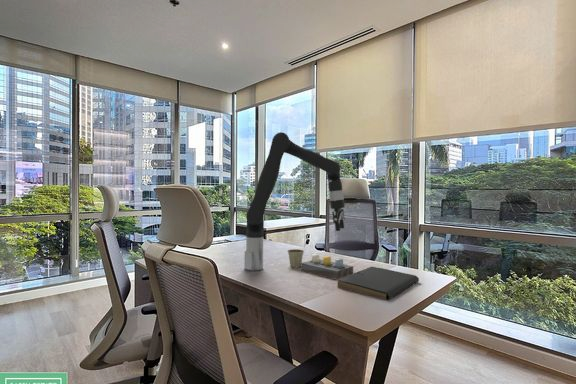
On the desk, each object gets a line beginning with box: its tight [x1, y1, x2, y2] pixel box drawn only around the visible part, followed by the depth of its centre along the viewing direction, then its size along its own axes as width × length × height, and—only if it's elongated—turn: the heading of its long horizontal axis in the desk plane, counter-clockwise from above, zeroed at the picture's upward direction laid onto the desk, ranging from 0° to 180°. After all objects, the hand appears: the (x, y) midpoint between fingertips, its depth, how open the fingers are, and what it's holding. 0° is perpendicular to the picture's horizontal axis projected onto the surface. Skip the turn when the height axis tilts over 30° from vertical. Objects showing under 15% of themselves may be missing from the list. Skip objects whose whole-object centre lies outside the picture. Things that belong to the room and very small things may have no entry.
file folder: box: [337, 266, 420, 301], centre depth 138 cm, size 33×4×24 cm
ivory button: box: [311, 253, 320, 264], centre depth 162 cm, size 4×4×5 cm
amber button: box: [322, 255, 332, 266], centre depth 157 cm, size 4×4×5 cm
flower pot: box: [287, 248, 305, 268], centre depth 169 cm, size 9×9×9 cm
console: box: [300, 258, 354, 281], centre depth 157 cm, size 14×23×4 cm, turn 47°
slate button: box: [334, 258, 344, 269], centre depth 152 cm, size 4×4×5 cm
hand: (340, 229), depth 161 cm, fingers open, 8 cm apart
